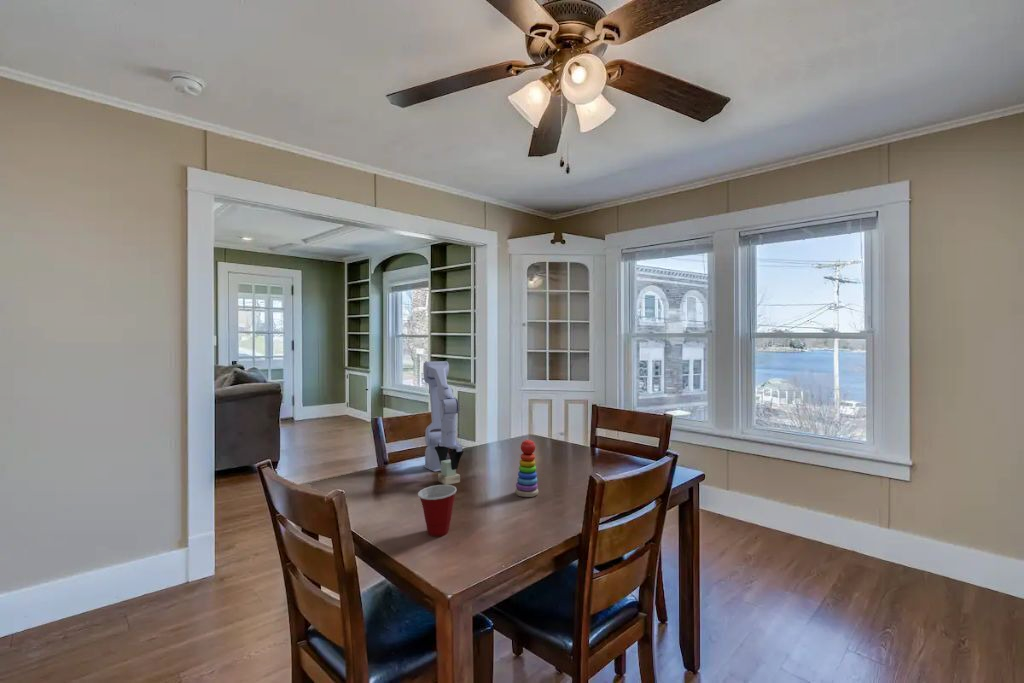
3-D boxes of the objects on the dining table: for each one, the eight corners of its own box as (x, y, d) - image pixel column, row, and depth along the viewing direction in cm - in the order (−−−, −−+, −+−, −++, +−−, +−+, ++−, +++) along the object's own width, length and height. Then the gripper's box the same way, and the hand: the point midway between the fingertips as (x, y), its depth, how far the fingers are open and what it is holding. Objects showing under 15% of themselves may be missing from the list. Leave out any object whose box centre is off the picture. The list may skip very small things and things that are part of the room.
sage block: (440, 474, 174) (440, 461, 174) (449, 472, 176) (449, 459, 176) (446, 476, 171) (446, 463, 171) (455, 474, 173) (455, 461, 173)
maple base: (438, 481, 175) (438, 473, 174) (452, 478, 178) (452, 471, 178) (445, 486, 170) (445, 477, 170) (460, 482, 173) (460, 474, 173)
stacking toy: (536, 498, 156) (536, 443, 156) (513, 497, 158) (513, 442, 157) (540, 491, 164) (540, 438, 163) (517, 489, 165) (518, 437, 165)
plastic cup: (420, 524, 135) (420, 483, 135) (457, 523, 135) (457, 483, 135) (414, 541, 124) (414, 497, 124) (455, 540, 125) (455, 496, 124)
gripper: (429, 429, 176) (429, 464, 177) (450, 435, 165) (450, 473, 166) (445, 426, 181) (445, 461, 181) (466, 433, 170) (466, 469, 170)
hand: (448, 467), depth 174 cm, fingers open, 7 cm apart
